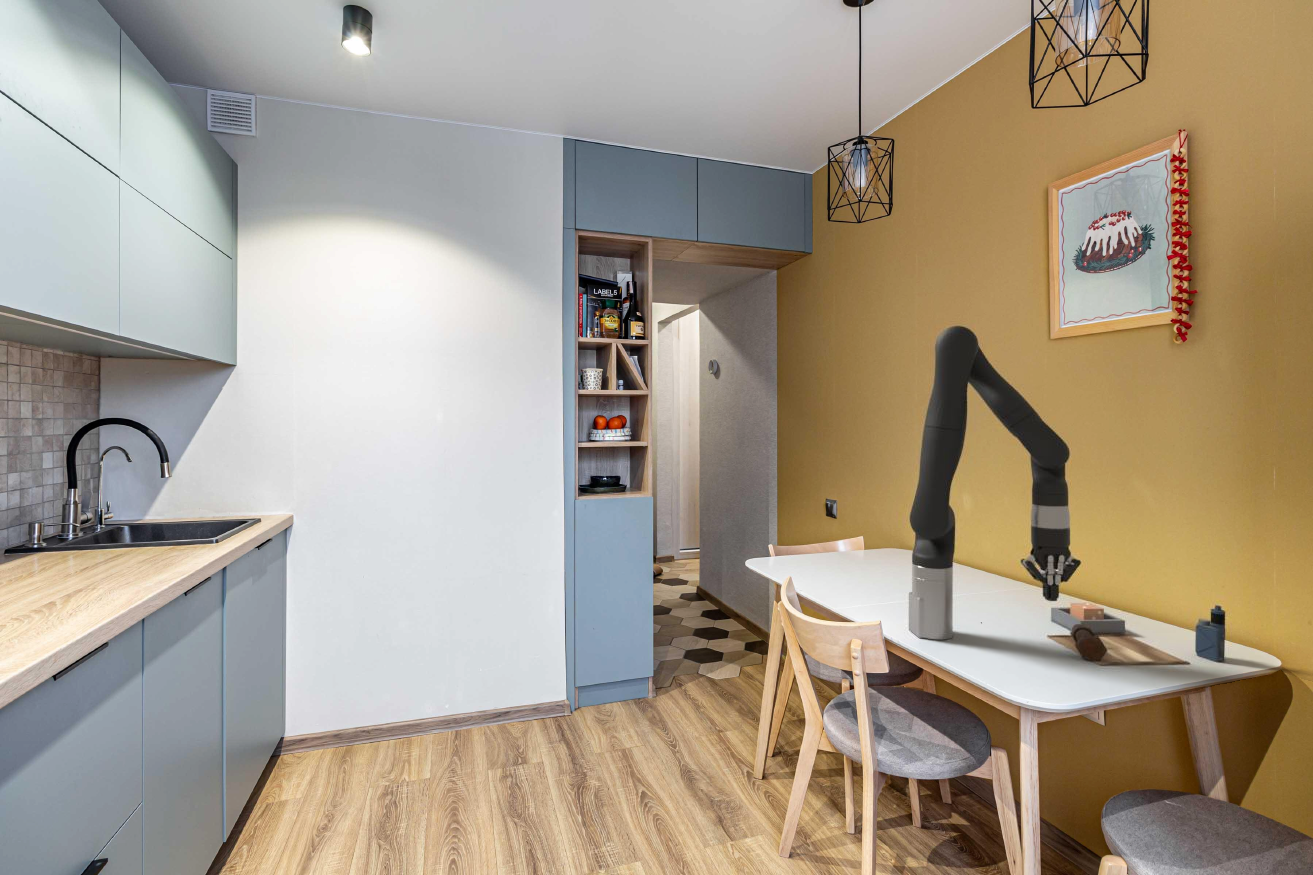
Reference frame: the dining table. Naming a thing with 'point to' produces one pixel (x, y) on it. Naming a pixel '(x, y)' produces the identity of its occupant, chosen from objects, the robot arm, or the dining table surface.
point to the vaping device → (1211, 636)
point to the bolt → (1088, 643)
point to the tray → (1088, 622)
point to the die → (1086, 611)
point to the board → (1124, 651)
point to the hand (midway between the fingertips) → (1050, 600)
